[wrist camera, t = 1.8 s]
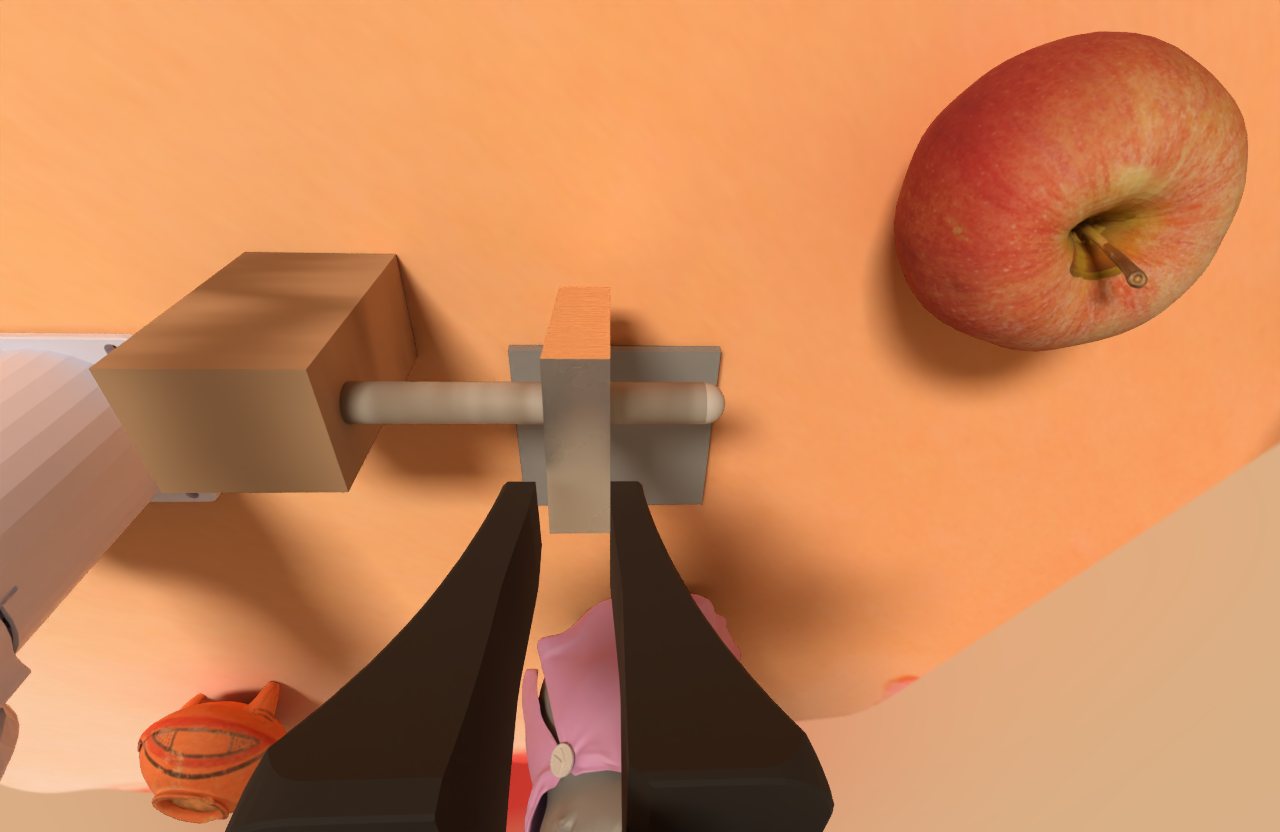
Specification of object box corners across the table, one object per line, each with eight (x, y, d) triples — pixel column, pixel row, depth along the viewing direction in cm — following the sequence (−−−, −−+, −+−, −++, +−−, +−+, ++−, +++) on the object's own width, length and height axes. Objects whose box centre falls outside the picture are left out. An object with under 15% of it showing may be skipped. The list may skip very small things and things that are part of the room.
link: (564, 425, 21) (549, 533, 16) (559, 286, 19) (539, 358, 14) (609, 425, 21) (610, 533, 16) (610, 287, 19) (610, 358, 14)
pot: (350, 724, 38) (283, 852, 33) (254, 713, 40) (178, 831, 35) (273, 658, 33) (180, 796, 28) (169, 650, 35) (66, 777, 30)
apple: (920, 327, 23) (1041, 462, 17) (814, 160, 19) (917, 252, 13) (1141, 186, 20) (1391, 283, 14) (1067, -42, 16) (1362, -54, 10)
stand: (282, 355, 23) (162, 493, 17) (244, 252, 20) (88, 368, 14) (695, 357, 23) (725, 489, 17) (704, 258, 21) (742, 371, 15)
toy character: (639, 503, 28) (680, 1225, 12) (768, 601, 33) (925, 1214, 16) (474, 618, 32) (339, 1253, 16) (608, 689, 37) (607, 1238, 21)
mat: (526, 499, 27) (525, 505, 27) (509, 345, 23) (507, 350, 22) (700, 498, 28) (701, 504, 28) (719, 346, 23) (720, 351, 23)
